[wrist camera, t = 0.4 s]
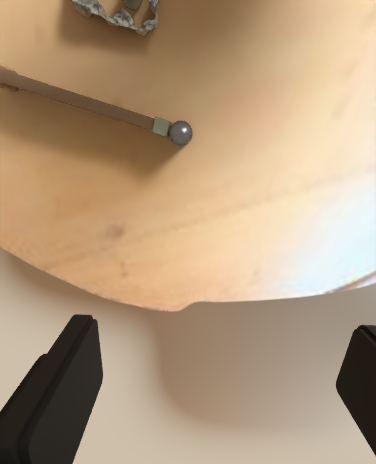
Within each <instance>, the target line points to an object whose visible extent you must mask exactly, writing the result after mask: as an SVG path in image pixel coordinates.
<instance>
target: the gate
mask: <svg viewBox="0 0 376 464" xmlns="http://www.w3.org/2000/svg"><path fill="white" fill-rule="evenodd" d="M0 82H1V83H5V84H8V85H11V86H14V87H17V88H20V89H23V90H26V91H30V92H33V93H36V94H39V95H42V96H45V97H48V98H52V99H55V100H58V101H61V102H64V103H67V104H71V105H74V106H77V107H80V108H83V109H86V110H89V111H93V112H96V113H99V114H102V115H105V116H108V117H111V118H115V119H118V120H121V121H124V122H127V123H130V124H134V125H137V126H140V127H143V128H146V129H149V130H152V132H153V133H156V134H159V135H162V136H165V137H169V138H171V137H170V129H171V126H172V125H173V124H172V123H171V122H170V121H167V120H164V119H161V118H158V117H155V119H154V118H151V117H148V116H145V115H141V114H138V113H135V112H132V111H129V110H126V109H123V108H120V107H117V106H114V105H110V104H107V103H104V102H101V101H98V100H95V99H92V98H89V97H86V96H83V95H79V94H76V93H73V92H70V91H67V90H64V89H61V88H58V87H55V86H52V85H48V84H45V83H42V82H39V81H36V80H33V79H30V78H27V77H24V76H21V75H17V74H14V73H11V72H8V71H5V70H2V69H0Z"/></svg>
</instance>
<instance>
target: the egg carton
mask: <svg viewBox="0 0 376 464" xmlns="http://www.w3.org/2000/svg"><path fill="white" fill-rule="evenodd" d="M72 1H73V3H74V6H75V8H76V10H77V11H78V12H79V13H80V14H81V15H82V16H84V17H87V18H90V17H91V15H92V14H93V13H94V14H96V15H100V16H102V17H103V18H104V19H105V20H107V22H108V24H109V25H114V26H119V25H120V26H124V27H128V28H132V29H135V30H136V32H137V34H139V35H142V36H145V35H146V33H147V32H148V31H149V30H151V31H153V28H157V25H158V16H157V11H156V5H157V3H158V0H149V3H150V7H151V10H152V13H153V14H154V15H155V19H154V20H147V21H146V22H144V23H143V28H137V27H136V26H135V24H134V21H133V19H132V17H131V15H130V14H129V13H128V12H127V11H126V10H125V9H124V8H121V9H120V11H119V12H118V13H116V14H115V15H114V17H113V18H109V17H108V16H107V15H106V13H105V11H104V9H103V7H102V6H101V4H100V3H99V2H98V1H97V0H72ZM123 1H124V3H125V5H126V6H127V7H128V8H130V9H137V8H138V7H139V6H140V5H141V3H142V0H123Z"/></svg>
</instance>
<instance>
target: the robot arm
mask: <svg viewBox="0 0 376 464" xmlns="http://www.w3.org/2000/svg"><path fill="white" fill-rule="evenodd" d="M102 379H103V370H102V360H101V352H100V342H99V333H98V323H97V320H96V319H93V318H92V316H91V315H74V316H73V317H72V318H71V319H70V321H69V322H68V324H67V325H66V327H65V328H64V330H63V331H62V333H61V334H60V335H59V337H58V338H57V340H56V341H55V343H54V344H53V346H52V347H51V349H50V350H49V352H48V353H47V354H43V355H42V356H40V357H39V358H38V360H37V361H36V362H35V363H34V365H33V366H32V368H31V369H30V371H29V372H28V374H27V375H26V376H25V378H24V379H23V380H22V382H21V383H20V385H19V386H18V387H17V389H16V390H15V392H14V393H13V395H12V396H11V397H10V399H9V400H8V402H7V403H6V404H5V406H4V407H3V409H2V410H1V411H0V464H72V463H73V461H74V458H75V455H76V452H77V450H78V447H79V444H80V441H81V439H82V436H83V433H84V431H85V428H86V425H87V422H88V420H89V417H90V414H91V412H92V408H93V406H94V403H95V401H96V398H97V395H98V392H99V390H100V387H101V384H102ZM336 388H337V392H338V394H339V395H340V397H341V399H342V400H343V402H344V404H345V405H346V407H347V409H348V410H349V412H350V414H351V415H352V417H353V419H354V420H355V422H356V424H357V425H358V427H359V429H360V430H361V432H362V433H363V435H364V437H365V439H366V440H367V442H368V444H369V445H370V447H371V449H372V450H373V452H374V454H375V455H376V326H374V325H360V326H359V327H358V328H357V329H355V330H354V332H353V334H352V337H351V340H350V343H349V346H348V349H347V352H346V355H345V358H344V360H343V363H342V366H341V369H340V372H339V375H338V378H337V381H336Z"/></svg>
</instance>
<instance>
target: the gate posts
mask: <svg viewBox="0 0 376 464" xmlns="http://www.w3.org/2000/svg"><path fill="white" fill-rule="evenodd" d="M0 69H2V70H5V71H8V72H11V73H14V74H17V73H16V72H15V71H13V70H10V69H8V68H6V67H3V66H1V65H0ZM17 75H18V74H17ZM0 88H3V89H7V90H10V91H17V90H18V89H19V88H17V87H14V86H11V85H8V84H5V83H1V82H0ZM170 137H171V139H172V141H173V142H174V143H176V144H178V145H185V144H187V143H189V142H190V140H191V138H192V128H191V126H190V125H189V124H188V123H187V122H185V121H177V122H175V123H174V124H173V125H172V126H171V129H170Z"/></svg>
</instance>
